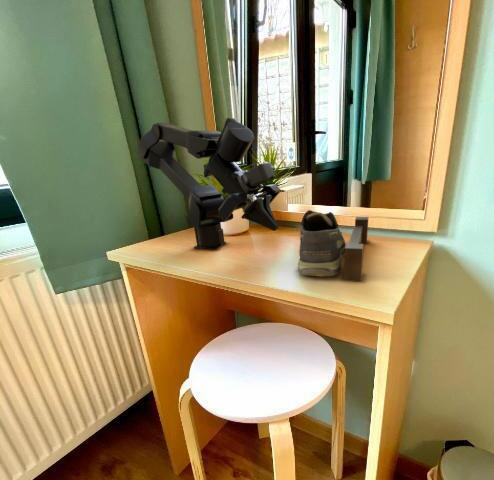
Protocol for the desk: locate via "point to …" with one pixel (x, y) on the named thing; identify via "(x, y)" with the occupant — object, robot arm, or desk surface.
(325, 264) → the boat shoe
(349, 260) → the rail
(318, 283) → the desk surface
